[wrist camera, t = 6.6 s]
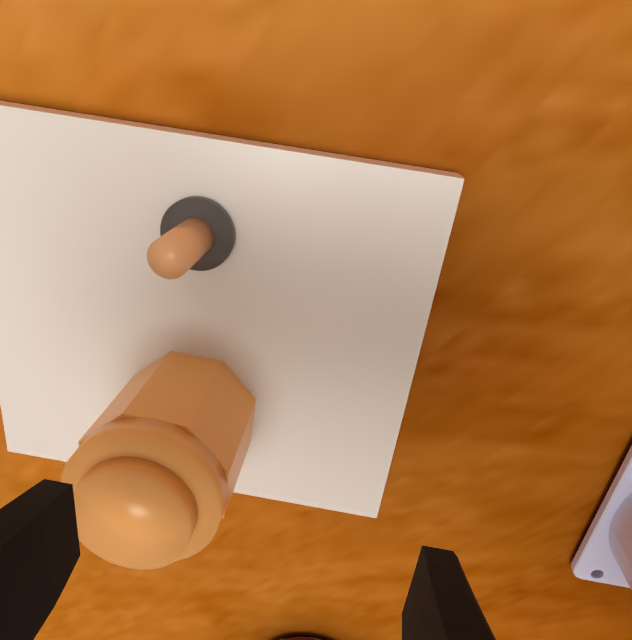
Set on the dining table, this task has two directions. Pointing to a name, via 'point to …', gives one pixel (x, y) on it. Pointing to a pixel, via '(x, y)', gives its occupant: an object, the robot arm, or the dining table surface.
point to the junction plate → (217, 288)
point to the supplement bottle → (300, 638)
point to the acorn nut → (161, 462)
